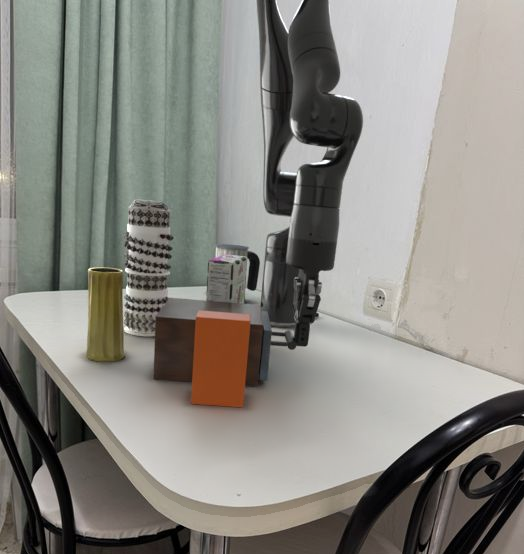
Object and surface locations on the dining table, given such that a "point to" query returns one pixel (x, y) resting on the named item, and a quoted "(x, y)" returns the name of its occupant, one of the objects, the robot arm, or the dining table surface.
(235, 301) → the candy bar box
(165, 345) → the cabinet
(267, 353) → the drawer
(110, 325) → the vase
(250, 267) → the milk frother
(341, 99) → the robot arm
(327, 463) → the dining table surface
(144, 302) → the white patterned cylinder
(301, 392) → the dining table surface
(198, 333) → the orange rectangular prism
